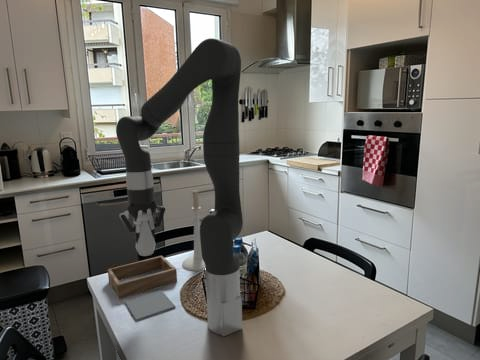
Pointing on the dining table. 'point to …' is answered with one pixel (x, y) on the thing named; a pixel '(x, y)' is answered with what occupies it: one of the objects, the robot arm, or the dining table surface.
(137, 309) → the grey mat
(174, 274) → the frame
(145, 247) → the salt shaker
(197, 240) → the candlestick
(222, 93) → the robot arm
